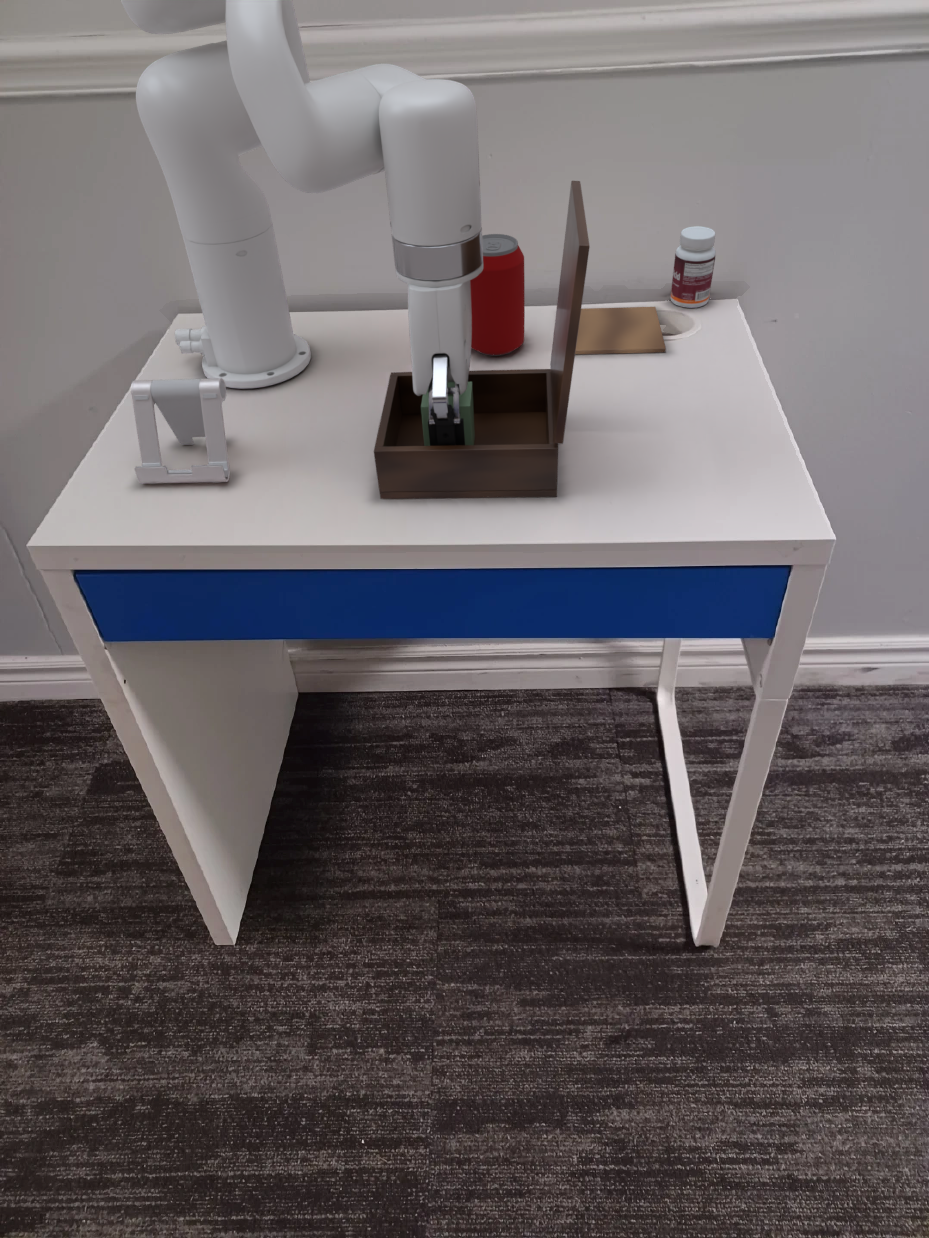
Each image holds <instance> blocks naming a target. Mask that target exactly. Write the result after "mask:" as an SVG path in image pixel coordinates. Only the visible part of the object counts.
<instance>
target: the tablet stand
mask: <svg viewBox="0 0 929 1238" xmlns="http://www.w3.org/2000/svg"><path fill="white" fill-rule="evenodd" d="M130 393H131V394H130V395H131V401H132V408H133V413H134V414H133V415H134V421H135V426H136V434H137V440H138V447H139V454H140V461H141V465H139V466H134V472H135V476H136V479H137V482H138V483H139V484H150V485H156V484H186V483H188V484H189V483H194V484H195V483H214V484H218V483H219V484H220V483H228V482H229V481H230V475H231V472H230V462H229V455H228V453H229V452H228V446H227V437H226V436H227V435H226V429H225V421H224V413H223V402H224V401H225V400H226V398H227V387H226V385H225V382H224V380H223V379H222V378H207V377H206V378H172V379H171V378H170V379H138V380H137V379H136V380H132V381H131V385H130ZM155 405H156V406H157V408H158V410H159V411H160V413H161V415H162V416H163V418H164V419H165V421H166V423H167V425H168V426H169V428H170V429H171V431H172V433H173V434H174V436H175V438H176V440H177V441H178V443H179V444H181V445H184V446H185V445H186V446H187V445H189V446H191V445H194V444H195V443H194V439H193V438H205V445H206V453H207V459H208V460H207V464H194V465H193V464H191V465H190V469H168V466H166V465H163V461H162V455H161V448H160V439H159V434H158V433H159V432H158V426H157V421H156V414H155V413H156V412H155Z"/></svg>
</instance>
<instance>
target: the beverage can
mask: <svg viewBox="0 0 929 1238" xmlns="http://www.w3.org/2000/svg"><path fill="white" fill-rule="evenodd" d="M482 243H483V271H482V272H481V273H480V274H479V275H478V276H477V277H475V278H474V279H472V280H470V285H471V310H472V342H471V349H473V350H474V351H476V352H478V353H480V354H482V355H485V356H491V357H496V356H497V357H498V356H505V355H508V354H510V353H512V352H514V351H515V350H517V349H518V348H520V347H521V346H522V345H523V344H524V342H525V318H526V317H525V316H526V315H525V314H526V313H525V308H526V307H525V306H526V305H525V295H526V294H525V256H524V253H523V251H522V249H521V248H520V246H519V242H518V240H517V238H515V237H514V236H513V235H512V236H511V235H508V234H503V233H488V234H482Z"/></svg>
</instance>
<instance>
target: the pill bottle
mask: <svg viewBox="0 0 929 1238" xmlns="http://www.w3.org/2000/svg"><path fill="white" fill-rule="evenodd" d="M679 238H680V239H679V245H678V247H677V248H676V250H675V253H674V263H673V271H672V278H671V279H672V280H671V289H670V301H671V303H672V304H674V305H675V306H678V307H681V308H689V309H695V308H700V307H703V306H705V305H707V304H708V302H709V301H710V294H711V288H712V281H713V275H714V268H715V261H716V256H717V252H716V249H715V247H714V246H715V240H716V231H715V230H714V229H712V228H711V227H707V226H701V225H695V226H687V227H685V228H683V229H682V230H681V231H680V237H679Z"/></svg>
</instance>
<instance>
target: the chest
mask: <svg viewBox="0 0 929 1238" xmlns="http://www.w3.org/2000/svg"><path fill="white" fill-rule="evenodd" d="M469 382H472V388H473V409H474V431H475V438H474V445H454V446H424V435H423V425H422V414H421V403H422V397H423V394H421V396H417V395H416V394H415V393H414V391H413V377H412V371H393V372H392V371H391V372H390V374H389V379H388V384H387V387H386V393H385V398H384V403H383V407H382V411H381V416H380V421H379V426H378V431H377V434H376V439H375V442H374V443H375V444H374V447H373V455H374V456H373V457H374V463H375V470H376V471H375V472H376V477H377V485H378V486H377V487H378V492H379V498H380V500H394V499H395V500H396V499H397V500H398V499H402V500H403V499H404V500H405V499H408V500H409V499H467V498H468V499H476V498H477V499H481V498H483V499H484V498H486V499H487V498H488V499H491V498H556V497H557V496H558V475H559V474H558V473H559V444H557V443H554V430H553V410H552V389H551V369H550V368H532V369H531V368H529V369H528V368H527V369H525V368H524V369H523V368H522V369H483V370H482V369H481V370H477V369H476V370H469Z"/></svg>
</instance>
